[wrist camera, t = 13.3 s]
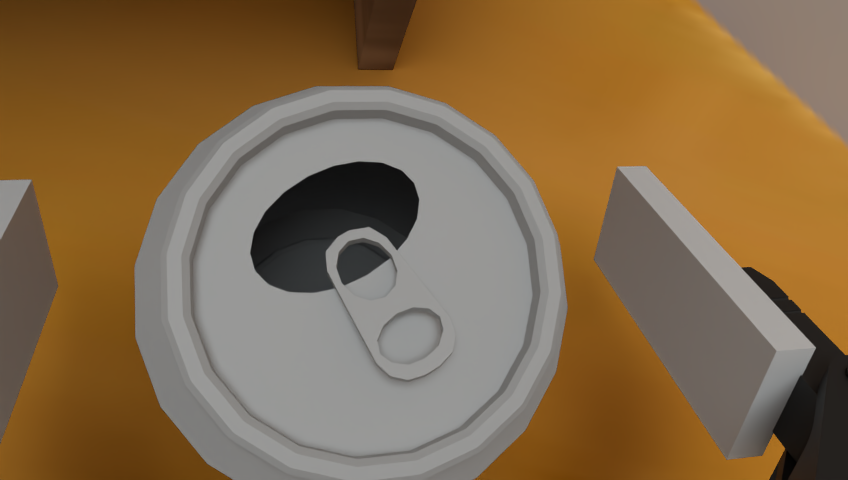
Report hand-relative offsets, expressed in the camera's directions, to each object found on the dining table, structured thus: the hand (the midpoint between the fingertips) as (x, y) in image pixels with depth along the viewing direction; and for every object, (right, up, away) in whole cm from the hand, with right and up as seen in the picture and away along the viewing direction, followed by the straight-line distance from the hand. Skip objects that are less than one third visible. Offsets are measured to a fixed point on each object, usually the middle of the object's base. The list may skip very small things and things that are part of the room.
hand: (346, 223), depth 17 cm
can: (-1, -3, +6) cm, 7 cm away
